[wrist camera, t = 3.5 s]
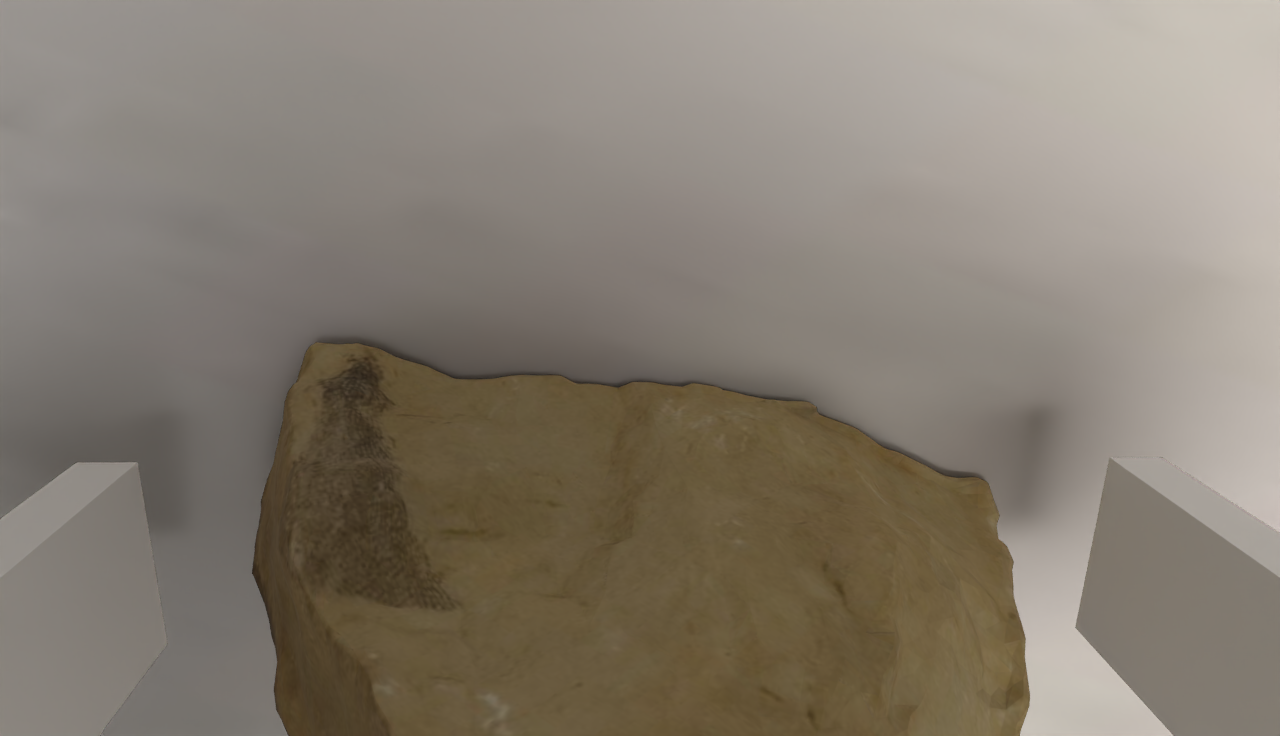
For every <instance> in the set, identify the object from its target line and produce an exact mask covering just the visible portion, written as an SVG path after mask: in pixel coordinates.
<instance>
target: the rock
mask: <svg viewBox="0 0 1280 736" xmlns="http://www.w3.org/2000/svg"><path fill="white" fill-rule="evenodd" d="M999 516H1000V515H999V512H998V510H997V507H996V505H995V502H994V499H993V496H992V493H991V490H990V487H989V485H988V483H987V482H986V481H984V480H982V479H980V478H977V477H965V478H955V477H949V476H944V475H942V474H940V473H938V472H936V471H934V470H933V469H931V468H929V467H927V466H925V465H923V464H921V463H919V462H917V461H915V460H913V459H911V458H909V457H907V456H905V455H903V454H901V453H899V452H896V451H892V450H889V449H886V448H884V447H882V446H881V445H879V444H877V443H876V442H875V441H874V440H872V439H871V438H869V437H868V436H866V435H865V434H864V433H862V432H861V431H859V430H858V429H857V428H854V427H852V426H849V425H846V424H844V423H841V422H838V421H836V420H833V419H830V418H827V417H824V416H822V415H819V413H818V412H817V407H815V406H814V405H813V404H811V403H810V402H804V401H777V400H775V399H774V400H767V399H762V398H757V397H752V396H747V395H743V394H739V393H736V392H732V391H726V390H722V389H721V388H719V387H715V386H710V385H703V384H696V383H692V384H689V385H686V386H683V387H679V386H671V385H663V384H658V383H654V382H631V383H628V384H626V385H624V386H621V387H618V388H617V387H611V386H605V385H599V384H576V383H574V382H572V381H570V380H568V379H566V378H564V377H562V376H561V375H512V376H505V377H500V378H495V379H455V378H452V377H450V376H447V375H445V374H443V373H440V372H438V371H436V370H434V369H432V368H430V367H428V366H425V365H421V364H418V363H414V362H411V361H407V360H404V359H400V358H397V357H395V356H393V355H391V354H389V353H387V352H385V351H383V350H381V349H379V348H375V347H370V346H366V345H362V344H359V343H354V344H348V343H346V344H330V343H318V342H316V343H314V344H313V345H311V346H310V347H309V348H308V350H307V351H306V353H305V356H304V359H303V362H302V365H301V369H300V372H299V375H298V379H297V381H296V383H295V384H294V385H293V386H292V387H291V388H290V390H289V391H288V393H287V397H286V400H285V405H284V413H283V422H282V427H281V431H280V435H279V440H278V444H277V448H276V452H275V458H274V464H273V466H272V469H271V471H270V474H269V476H268V479H267V482H266V485H265V489H264V492H263V496H262V499H261V514H260V521H259V527H258V531H257V535H256V542H255V552H254V561H253V569H252V574H253V575H254V578H255V580H256V583H257V585H258V588H259V590H260V593H261V596H262V598H263V601H264V603H265V607H266V611H267V614H268V618H269V623H270V629H271V635H272V639H273V642H274V645H275V648H276V656H277V669H276V676H275V684H274V695H275V703H276V710H277V712H278V714H279V716H280V718H281V719H282V722H283V724H284V726H285V729H286V731H287V733H288V736H1020V731H1021V728H1022V725H1023V722H1024V719H1025V717H1026V714H1027V711H1028V708H1029V702H1030V692H1029V685H1028V678H1027V671H1026V663H1025V640H1026V639H1025V635H1024V631H1023V627H1022V624H1021V621H1020V617H1019V614H1018V611H1017V607H1016V604H1015V600H1014V595H1013V576H1012V568H1013V563H1014V562H1013V559H1012V557H1011V555H1010V552H1009V550H1008V548H1007V546H1006V545H1005V544H1004V543H1003V542H1002V541H1000V540H999V539H998V533H997V527H996V525H997V522H998V519H999Z"/></svg>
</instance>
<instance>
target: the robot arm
mask: <svg viewBox="0 0 1280 736" xmlns="http://www.w3.org/2000/svg"><path fill="white" fill-rule="evenodd" d="M1075 628H1076V629H1077V630H1078V631H1079V632H1080V633H1081V634H1082V635H1083V636H1084V638H1085V639H1086V640H1087V641H1088V642H1089V643H1090V644H1091V645H1092V646H1093V647H1094V649H1095V650H1096V651H1097V652H1098V653H1099V654H1100V655H1101V656H1102V657H1103V658H1104V660H1105V661H1106V662H1107V663H1108V664H1109V665H1110V666H1111V667H1112V668H1113V669H1114V671H1115V672H1116V673H1117V674H1118V675H1119V676H1120V677H1121V678H1122V679H1123V680H1124V682H1125V683H1126V684H1127V685H1128V686H1129V687H1130V688H1131V689H1132V690H1133V691H1134V693H1135V694H1136V695H1137V696H1138V697H1139V698H1140V699H1141V700H1142V701H1143V702H1144V704H1145V705H1146V706H1147V707H1148V708H1149V709H1150V710H1151V711H1152V712H1153V713H1154V714H1155V716H1156V717H1157V718H1158V719H1159V720H1160V721H1161V722H1162V723H1163V724H1164V725H1165V727H1166V728H1167V729H1168V730H1169V731H1170V732H1171V733H1172V734H1173V735H1174V736H1280V533H1279V532H1278V531H1276V530H1275V529H1273V528H1272V527H1270V526H1269V525H1267V524H1265V523H1264V522H1262V521H1261V520H1259V519H1258V518H1256V517H1254V516H1253V515H1251V514H1250V513H1248V512H1247V511H1245V510H1244V509H1242V508H1240V507H1239V506H1237V505H1236V504H1234V503H1233V502H1231V501H1229V500H1228V499H1226V498H1225V497H1223V496H1222V495H1220V494H1219V493H1217V492H1215V491H1214V490H1212V489H1211V488H1209V487H1208V486H1206V485H1205V484H1203V483H1201V482H1200V481H1198V480H1197V479H1195V478H1194V477H1192V476H1190V475H1189V474H1187V473H1186V472H1184V471H1183V470H1181V469H1180V468H1178V467H1176V466H1175V465H1173V464H1172V463H1170V462H1169V461H1167V460H1165V459H1164V458H1162V457H1125V458H1109V463H1108V468H1107V473H1106V478H1105V483H1104V488H1103V493H1102V498H1101V503H1100V508H1099V513H1098V518H1097V523H1096V528H1095V532H1094V537H1093V542H1092V547H1091V552H1090V557H1089V562H1088V567H1087V572H1086V577H1085V582H1084V587H1083V592H1082V597H1081V602H1080V607H1079V612H1078V617H1077V622H1076V627H1075ZM167 644H168V642H167V636H166V630H165V624H164V618H163V612H162V606H161V600H160V594H159V588H158V582H157V576H156V570H155V564H154V558H153V552H152V546H151V540H150V534H149V528H148V522H147V516H146V510H145V504H144V498H143V492H142V486H141V480H140V474H139V468H138V462H76V463H75V464H74V465H72V466H71V467H70V468H68V469H67V470H66V471H64V472H63V473H61V474H60V475H59V476H57V477H56V478H55V479H53V480H52V481H51V482H49V483H48V484H47V485H45V486H44V487H43V488H41V489H40V490H39V491H37V492H36V493H35V494H33V495H32V496H30V497H29V498H28V499H26V500H25V501H24V502H22V503H21V504H20V505H18V506H17V507H16V508H14V509H13V510H12V511H10V512H9V513H8V514H6V515H5V516H4V517H2V518H1V519H0V736H99V735H100V734H101V733H102V731H103V730H104V729H105V727H106V726H107V725H108V723H109V722H110V721H111V719H112V718H113V717H114V715H115V714H116V713H117V711H118V710H119V709H120V707H121V706H122V705H123V703H124V702H125V701H126V699H127V698H128V696H129V695H130V694H131V692H132V691H133V690H134V688H135V687H136V686H137V684H138V683H139V682H140V680H141V679H142V678H143V676H144V675H145V674H146V672H147V671H148V670H149V668H150V667H151V666H152V664H153V663H154V662H155V660H156V659H157V658H158V656H159V655H160V654H161V652H162V651H163V649H164V648H165V647H166V645H167Z"/></svg>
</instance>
